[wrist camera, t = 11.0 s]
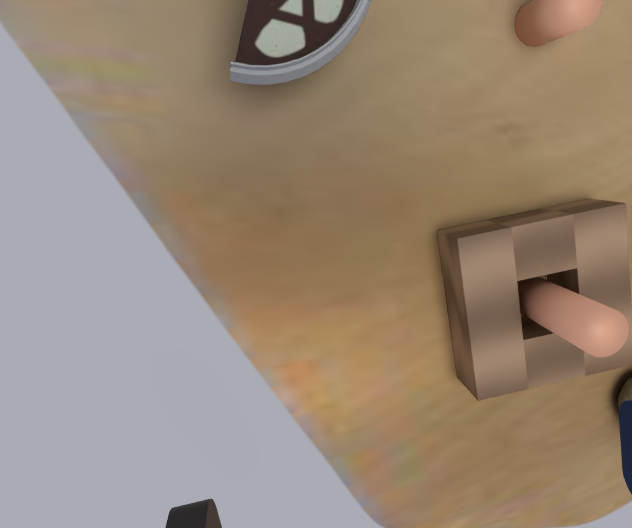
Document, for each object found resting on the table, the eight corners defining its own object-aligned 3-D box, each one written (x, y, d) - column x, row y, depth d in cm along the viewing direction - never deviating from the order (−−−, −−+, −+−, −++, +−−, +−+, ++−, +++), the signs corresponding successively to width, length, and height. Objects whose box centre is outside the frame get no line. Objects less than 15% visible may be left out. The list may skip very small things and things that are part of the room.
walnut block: (436, 230, 38) (457, 238, 34) (588, 198, 39) (625, 203, 35) (457, 377, 41) (478, 400, 37) (598, 344, 41) (634, 364, 38)
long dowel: (499, 275, 39) (578, 314, 30) (536, 267, 40) (627, 303, 30) (503, 312, 40) (582, 362, 30) (539, 304, 40) (630, 351, 30)
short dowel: (512, 4, 35) (553, -21, 30) (553, -4, 36) (600, -29, 31) (517, 49, 36) (557, 33, 31) (557, 42, 36) (603, 24, 31)
